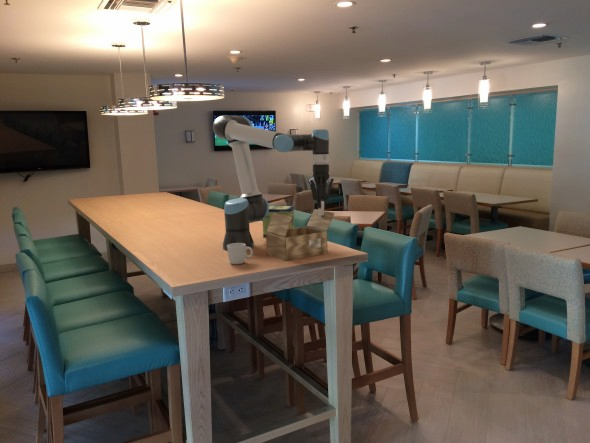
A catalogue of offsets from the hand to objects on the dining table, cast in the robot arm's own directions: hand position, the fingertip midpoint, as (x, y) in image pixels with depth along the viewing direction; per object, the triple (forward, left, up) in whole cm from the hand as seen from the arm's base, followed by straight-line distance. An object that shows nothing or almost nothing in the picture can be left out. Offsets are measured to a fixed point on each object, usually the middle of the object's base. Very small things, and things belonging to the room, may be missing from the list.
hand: (321, 215), depth 221 cm
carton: (-14, 0, -16) cm, 21 cm away
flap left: (-24, 0, -6) cm, 25 cm away
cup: (-42, 0, -17) cm, 45 cm away
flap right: (-3, 0, -6) cm, 7 cm away
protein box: (0, +42, -17) cm, 45 cm away
